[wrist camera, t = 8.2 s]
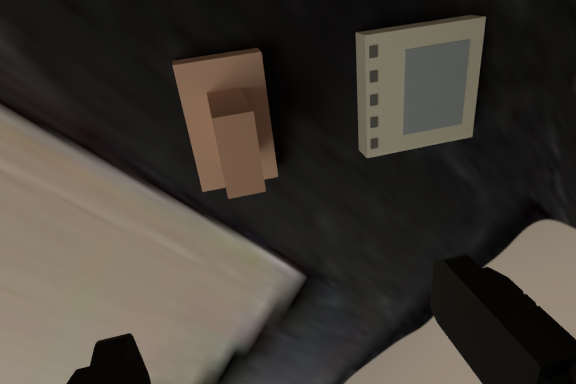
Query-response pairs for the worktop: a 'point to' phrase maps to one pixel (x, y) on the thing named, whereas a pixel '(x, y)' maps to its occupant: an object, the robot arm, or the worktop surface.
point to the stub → (228, 120)
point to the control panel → (417, 83)
